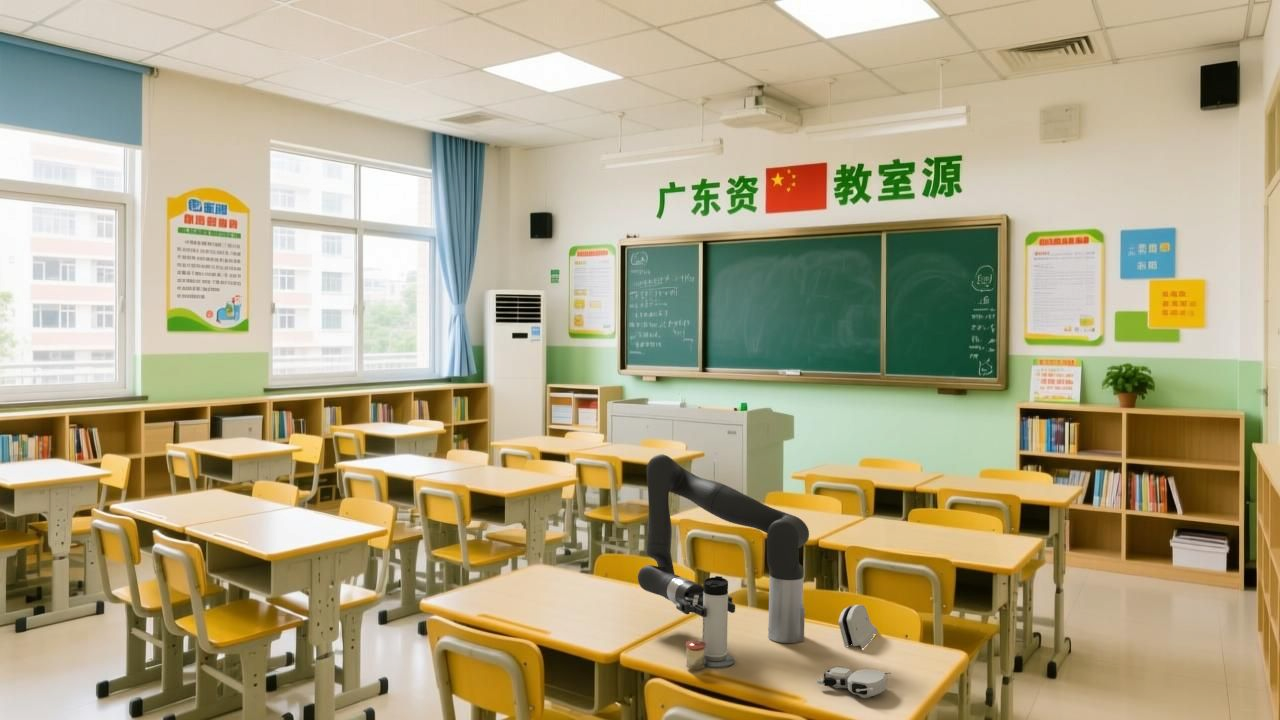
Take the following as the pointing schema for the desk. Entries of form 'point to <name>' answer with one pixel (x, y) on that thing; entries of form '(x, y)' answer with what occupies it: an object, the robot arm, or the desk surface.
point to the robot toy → (856, 681)
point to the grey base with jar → (703, 657)
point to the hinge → (856, 626)
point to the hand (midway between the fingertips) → (719, 611)
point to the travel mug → (715, 618)
